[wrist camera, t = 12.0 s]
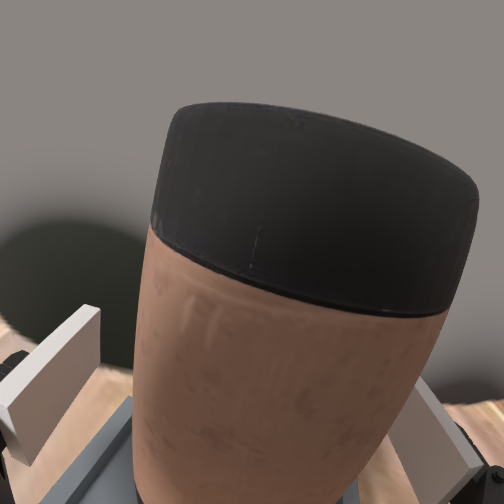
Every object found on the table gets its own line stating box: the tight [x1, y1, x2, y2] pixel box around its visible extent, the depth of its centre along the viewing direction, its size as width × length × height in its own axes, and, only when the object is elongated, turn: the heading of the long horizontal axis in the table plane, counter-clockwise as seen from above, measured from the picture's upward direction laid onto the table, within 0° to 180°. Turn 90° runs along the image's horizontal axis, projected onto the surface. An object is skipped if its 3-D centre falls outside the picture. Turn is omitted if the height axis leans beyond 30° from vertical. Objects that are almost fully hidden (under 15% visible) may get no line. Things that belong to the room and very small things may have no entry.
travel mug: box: [132, 102, 479, 504], centre depth 10 cm, size 8×8×20 cm
